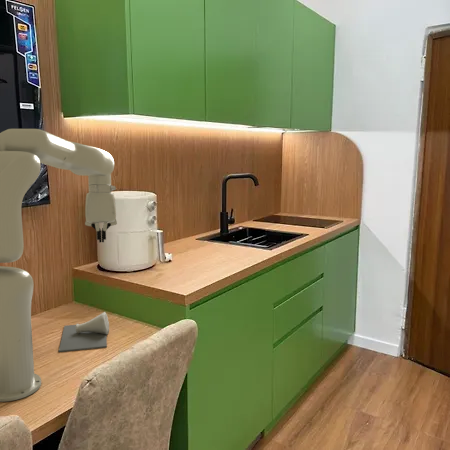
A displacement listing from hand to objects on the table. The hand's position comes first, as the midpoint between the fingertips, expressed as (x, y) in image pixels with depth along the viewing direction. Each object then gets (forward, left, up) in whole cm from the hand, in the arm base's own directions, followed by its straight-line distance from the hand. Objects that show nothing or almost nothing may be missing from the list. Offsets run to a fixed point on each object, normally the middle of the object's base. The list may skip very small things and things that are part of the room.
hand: (101, 241), depth 150 cm
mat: (-6, -13, -29) cm, 32 cm away
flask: (+1, -12, -25) cm, 28 cm away
